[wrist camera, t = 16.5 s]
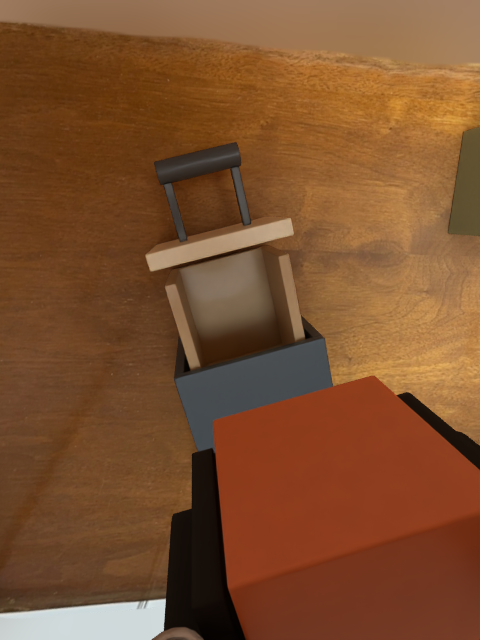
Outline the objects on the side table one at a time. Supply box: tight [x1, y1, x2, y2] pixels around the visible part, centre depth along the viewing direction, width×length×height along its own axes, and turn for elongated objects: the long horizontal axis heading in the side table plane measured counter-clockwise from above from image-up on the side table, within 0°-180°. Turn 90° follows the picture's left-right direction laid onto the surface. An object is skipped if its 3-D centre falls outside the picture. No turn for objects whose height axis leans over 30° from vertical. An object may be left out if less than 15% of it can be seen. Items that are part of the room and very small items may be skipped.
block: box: [213, 376, 480, 640], centre depth 8 cm, size 4×4×4 cm
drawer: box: [145, 142, 305, 371], centre depth 29 cm, size 18×10×8 cm, turn 13°
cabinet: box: [174, 316, 333, 453], centre depth 33 cm, size 13×11×9 cm
